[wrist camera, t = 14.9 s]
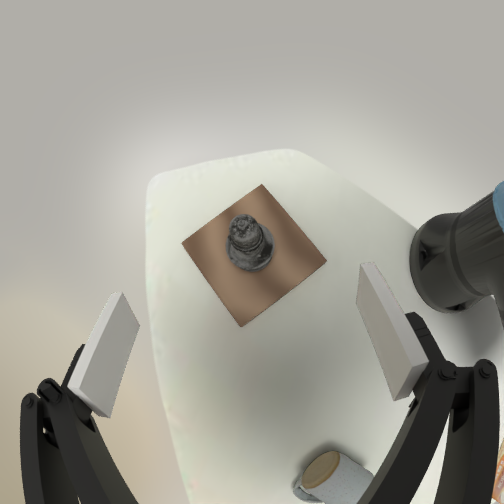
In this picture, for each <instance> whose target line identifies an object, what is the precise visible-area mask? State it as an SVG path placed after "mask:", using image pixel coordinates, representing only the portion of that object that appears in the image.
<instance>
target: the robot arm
mask: <svg viewBox="0 0 504 504" xmlns="http://www.w3.org/2000/svg"><path fill="white" fill-rule="evenodd" d="M410 269H411V274H412V278H413V282H414V284H415V287H416V289H417V291H418V293H419V294H420V296H421V297H422V299H423V300H424V301H425V302H426V303H427V304H428V305H429V306H430V307H432V308H433V309H435V310H437V311H439V312H443V313H456V312H461V311H464V310H467V309H468V308H470V307H472V306H473V305H474V304H476V303H477V302H478V301H480V300H481V299H482V298H483V297H485V296H487V295H494V297H495V300H496V304H497V306H498V310H499V313H500V317H501V321H502V324H503V328H504V181H503V182H501V183H500V184H499V185H497V187H496V188H495V190H494V191H493V192H491V193H490V194H489V195H487V196H486V197H484V198H483V199H481V200H480V201H478V202H477V203H475V204H474V205H472V206H471V207H469V208H468V209H466V210H465V211H463V212H461V213H448V214H441V215H437V216H435V217H433V218H432V219H430V220H429V221H427V222H426V223H425V224H423V225H422V226H421V227H420V228H419V230H418V231H417V233H416V235H415V237H414V239H413V242H412V245H411V251H410ZM356 304H357V306H358V309H359V311H360V313H361V316H362V318H363V321H364V323H365V325H366V328H367V330H368V333H369V335H370V338H371V340H372V343H373V345H374V348H375V351H376V353H377V356H378V358H379V361H380V364H381V367H382V369H383V372H384V375H385V378H386V380H387V383H388V386H389V389H390V392H391V395H392V398H393V401H396V400H399V399H402V398H406V397H409V395H410V394H411V392H412V390H413V392H414V395H415V398H414V399H413V401H412V402H411V404H410V405H409V407H410V409H409V411H408V414H407V416H406V418H405V420H404V423H403V425H402V427H401V429H400V431H399V433H398V435H397V437H396V439H395V441H394V443H393V445H392V447H391V449H390V451H389V453H388V454H387V456H386V458H385V460H384V462H383V463H382V465H381V467H380V468H379V470H378V472H377V473H376V475H375V477H374V478H373V480H372V482H371V483H370V485H369V486H368V488H367V489H366V491H365V492H364V494H363V495H362V497H361V498H360V500H359V501H358V502H357V504H410V502H411V500H412V498H413V497H414V495H415V493H416V491H417V489H418V487H419V485H420V483H421V481H422V479H423V477H424V475H425V473H426V471H427V469H428V467H429V465H430V463H431V460H432V458H433V456H434V453H435V451H436V448H437V446H438V443H439V441H440V438H441V436H442V433H443V430H444V427H445V424H446V422H447V419H448V415H449V412H450V415H449V426H448V435H447V443H446V449H445V456H444V461H443V467H442V472H441V476H440V481H439V485H438V489H437V493H436V497H435V501H434V504H490V503H491V499H492V494H493V489H494V483H495V476H496V469H497V460H498V449H499V428H500V409H499V387H498V376H497V369H496V366H495V365H494V364H493V363H492V362H491V361H490V360H487V359H481V360H479V361H478V362H476V364H475V365H474V367H456V365H455V364H454V363H452V362H450V361H446V360H445V358H444V356H443V354H442V353H441V351H440V349H439V347H438V345H437V343H436V341H435V340H434V338H433V336H432V335H431V332H430V331H429V329H428V328H427V325H426V324H425V322H424V320H423V318H421V317H420V316H419V315H418V314H417V313H415V312H411V313H407V314H404V312H403V311H402V309H401V307H400V305H399V303H398V302H397V300H396V298H395V296H394V295H393V293H392V291H391V290H390V288H389V286H388V285H387V283H386V281H385V280H384V278H383V276H382V275H381V273H380V271H379V270H378V268H377V267H376V265H375V263H374V262H371V263H364V264H360V274H359V284H358V292H357V300H356ZM139 327H140V325H139V323H138V321H137V319H136V317H135V315H134V313H133V311H132V310H131V308H130V306H129V304H128V302H127V300H126V298H125V296H124V294H123V292H116V293H112V294H111V296H110V298H109V299H108V301H107V303H106V305H105V307H104V309H103V311H102V312H101V314H100V316H99V318H98V320H97V322H96V324H95V326H94V328H93V330H92V332H91V335H90V336H89V338H88V341H87V343H86V344H82V346H81V347H80V348H79V349H78V350H77V352H76V354H75V356H74V358H73V360H72V362H71V366H70V367H69V369H68V372H67V373H66V376H65V378H64V380H63V383H62V385H61V387H60V386H59V385H58V384H57V383H56V382H55V380H53V379H51V378H47V379H44V380H43V381H42V382H41V383H40V384H39V386H38V389H37V395H38V396H40V397H41V398H39V397H37V396H36V395H35V394H34V393H29V394H27V395H26V396H25V397H24V398H23V400H22V403H21V416H20V455H21V470H22V481H23V489H24V496H25V502H26V504H79V501H78V497H79V500H80V502H81V504H138V502H137V501H136V499H135V497H134V496H133V494H132V493H131V491H130V489H129V488H128V486H127V485H126V483H125V481H124V479H123V478H122V476H121V474H120V472H119V470H118V469H117V467H116V465H115V463H114V461H113V459H112V457H111V455H110V453H109V451H108V449H107V447H106V445H105V443H104V441H103V439H102V436H101V434H100V432H99V430H98V427H97V425H96V423H95V420H94V418H93V417H92V416H91V413H92V411H94V413H96V414H97V415H98V416H101V417H107V418H110V417H111V413H112V409H113V406H114V403H115V399H116V396H117V392H118V389H119V386H120V383H121V380H122V377H123V373H124V370H125V367H126V364H127V361H128V358H129V355H130V353H131V350H132V347H133V344H134V341H135V338H136V335H137V333H138V330H139ZM43 428H45V430H46V432H45V433H43ZM77 495H78V496H77Z"/></svg>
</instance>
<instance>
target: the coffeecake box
mask: <svg viewBox="0 0 504 504" xmlns="http://www.w3.org/2000/svg"><path fill="white" fill-rule="evenodd" d="M492 498H493V499H495V500H496V501H497V502H499V503H500V504H504V440H503V443H502V446H501V449H500V451H499V454H498V460H497V469H496V476H495V483H494V489H493V494H492Z"/></svg>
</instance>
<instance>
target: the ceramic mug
mask: <svg viewBox="0 0 504 504" xmlns="http://www.w3.org/2000/svg"><path fill="white" fill-rule="evenodd" d="M373 478H374V476H373V474H372V473H371V472H370V471H368V470H367V469H365V468H363V467H362V466H360V465H359V464H357V463H356V462H354V461H353V460H351V459H350V458H348V457H347V456H345V455H344V454H342V453H339V452H337V451H330V452H327V453H324V454H322V455H321V456H319V457H318V458H316V459H315V460H314V461H313V462H312V463H311V464H310V465H309V466H308V467H307V469H306V470H305V472H304V474H303V476H302V478H301V479H300V480H299V481H297V482H296V484H295V486H294V490H293V492H294V494H295V495H296V497H298V498H299V499H301V500H303V501H305V502H309V503H322V502H324V503H325V504H357V502H358V501H359V500H360V498H361V497H362V495H363V494H364V492H365V491H366V489H367V488H368V486H369V485H370V483H371V482H372V480H373ZM300 485H302V486H303V487H304V488H305V489H306V490H307V492H309V493H310V494H312V495H313V496H311V495H308V494H306V493H305V492H303V491H302V490H301V489H300V488H299V486H300Z"/></svg>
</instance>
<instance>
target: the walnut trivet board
mask: <svg viewBox="0 0 504 504" xmlns="http://www.w3.org/2000/svg"><path fill="white" fill-rule="evenodd" d="M240 214H248V215H250V216H252V217H253V218H255V220H256V221H257V223H260V224H262V225H264V226H265V227H266V228H268V229H269V231H270V232H271V234H272V235H273V238H274V243H275V248H274V253H273V255H272V259H271V261H270V263H269V264H268V265H267V266H266V267H265V268H263V269H262V270H259V271H256V272H249V271H245V270H243V269H241V268H239V267H237V266H236V265H234V264H233V263H232V262H231V261H230V259H229V257H228V256H227V253H226V240H227V237H228V235H229V225H230V222H231V220H232V219H233V218H234V217H236V216H237V215H240ZM182 245H183V246H184V248H185V249H186V251H187V252H188V254H189V255H190V257H191V258H192V260H193V261H194V263H195V264H196V266H197V267H198V268H199V270H200V271H201V273H202V274H203V276H204V277H205V278H206V280H207V281H208V283H209V284H210V286H211V287H212V288H213V290H214V291H215V293H216V294H217V295H218V297H219V298H220V300H221V301H222V302H223V304H224V305H225V307H226V308H227V309H228V311H229V312H230V313H231V315H232V316H233V318H234V319H235V320H236V322H237V323H238V324H239V326H240V327H243V326H244V325H245V324H247V323H248V322H249V321H251V320H252V319H253V318H255V317H256V316H257V315H259V314H260V313H262V312H263V311H264V310H266V309H267V308H268V307H270V306H271V305H272V304H273V303H275V302H276V301H277V300H279V299H280V298H281V297H283V296H284V295H285V294H287V293H288V292H289V291H290V290H292V289H293V288H294V287H296V286H297V285H298V284H299V283H301V282H302V281H303V280H304V279H306V278H307V277H308V276H310V275H311V274H312V273H313V272H315V271H316V270H317V269H318V268H320V267H321V266H322V265H323V264H324V263H325V262H326V261H327V260H326V259H325V258H324V257H323V255H322V254H321V253H320V252H319V250H318V249H317V248H316V247H315V246H314V244H313V243H312V242H311V241H310V240H309V238H308V237H307V236H306V235H305V233H304V232H303V231H302V230H301V229H300V227H299V226H298V225H297V224H296V223H295V222H294V220H293V219H292V218H291V217H290V216H289V215H288V213H287V212H286V211H285V210H284V209H283V208H282V206H281V205H280V204H279V203H278V202H277V201H276V199H275V198H274V197H273V196H272V195H271V194H270V193H269V191H268V190H267V189H266V188H265V187H264V186H263V185H262V184H261V185H260V186H258V187H257V188H256V189H254V190H253V191H251V192H250V193H249V194H247V195H246V196H244V197H243V198H241V199H240V200H239V201H237V202H236V203H234V204H233V205H232V206H230V207H229V208H228V209H226V210H225V211H223V212H222V213H221V214H219V215H218V216H217V217H215V218H214V219H213V220H211V221H210V222H208V223H207V224H206V225H204V226H203V227H202V228H200V229H199V230H198V231H196V232H195V233H194V234H192V235H191V236H190V237H189V238H187V239H186V240H185V241H183V242H182Z"/></svg>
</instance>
